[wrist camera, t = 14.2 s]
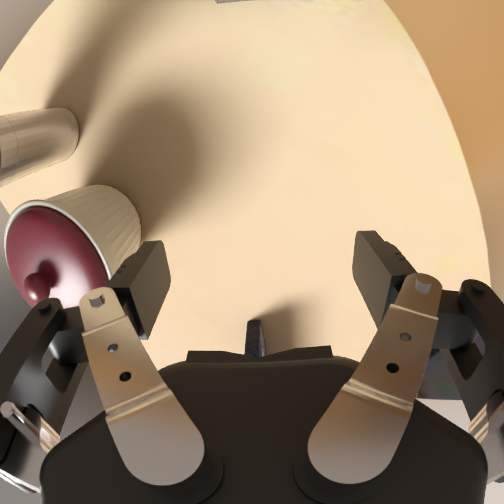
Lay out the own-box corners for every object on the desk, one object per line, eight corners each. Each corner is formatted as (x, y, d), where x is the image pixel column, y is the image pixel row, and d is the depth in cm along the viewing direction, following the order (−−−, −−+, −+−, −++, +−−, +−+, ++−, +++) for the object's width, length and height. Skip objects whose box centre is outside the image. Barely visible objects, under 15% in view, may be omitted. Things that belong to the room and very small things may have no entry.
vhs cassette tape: (246, 319, 51) (243, 361, 42) (263, 318, 51) (262, 360, 42) (258, 382, 59) (257, 420, 50) (272, 381, 59) (272, 419, 50)
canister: (164, 174, 40) (87, 233, 21) (156, 279, 48) (107, 374, 29) (65, 161, 39) (-30, 206, 20) (70, 258, 47) (3, 329, 28)
